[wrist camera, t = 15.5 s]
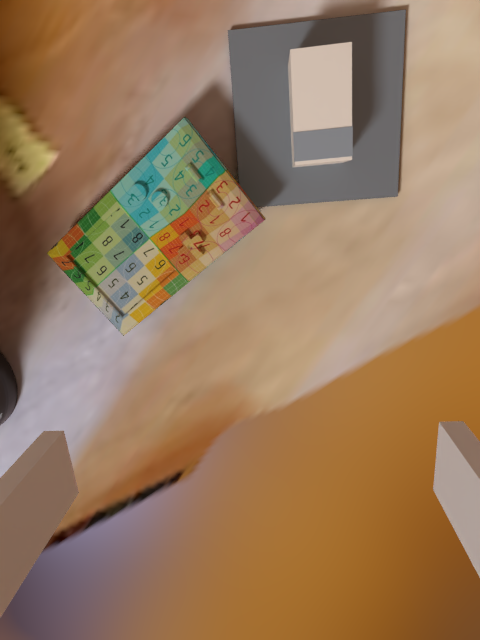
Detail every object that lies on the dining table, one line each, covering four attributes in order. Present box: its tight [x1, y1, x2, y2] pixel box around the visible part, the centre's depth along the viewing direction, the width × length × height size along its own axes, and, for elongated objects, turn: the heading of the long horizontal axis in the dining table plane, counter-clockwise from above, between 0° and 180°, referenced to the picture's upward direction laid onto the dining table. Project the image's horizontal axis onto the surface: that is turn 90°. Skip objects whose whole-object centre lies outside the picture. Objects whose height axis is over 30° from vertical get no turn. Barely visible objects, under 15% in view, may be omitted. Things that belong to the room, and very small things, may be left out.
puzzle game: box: [47, 117, 265, 336], centre depth 42 cm, size 12×5×20 cm
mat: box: [228, 10, 406, 207], centre depth 40 cm, size 16×16×1 cm
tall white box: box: [288, 42, 353, 168], centre depth 37 cm, size 9×5×5 cm, turn 5°
